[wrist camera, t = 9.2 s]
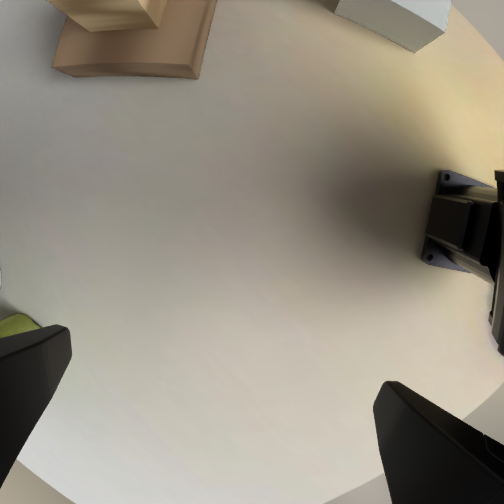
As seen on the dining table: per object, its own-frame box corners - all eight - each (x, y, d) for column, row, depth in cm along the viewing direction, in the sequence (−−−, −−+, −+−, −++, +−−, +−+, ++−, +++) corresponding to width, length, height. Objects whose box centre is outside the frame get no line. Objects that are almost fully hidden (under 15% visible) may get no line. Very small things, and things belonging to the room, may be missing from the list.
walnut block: (226, -31, 15) (222, -55, 12) (198, 79, 18) (188, 64, 15) (108, -26, 15) (93, -45, 12) (74, 77, 17) (51, 67, 14)
